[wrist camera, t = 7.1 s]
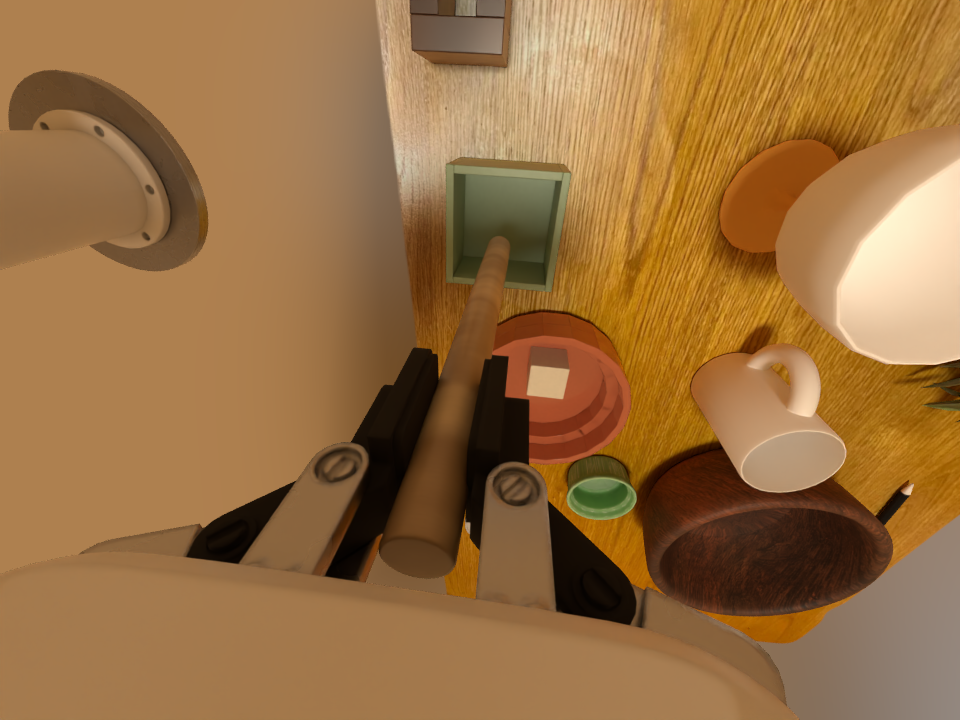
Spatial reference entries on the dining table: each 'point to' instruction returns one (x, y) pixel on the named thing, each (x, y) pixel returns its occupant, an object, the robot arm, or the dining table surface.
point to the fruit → (948, 405)
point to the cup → (862, 238)
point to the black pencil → (895, 504)
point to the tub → (505, 218)
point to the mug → (769, 418)
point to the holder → (461, 32)
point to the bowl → (567, 386)
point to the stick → (446, 438)
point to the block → (547, 372)
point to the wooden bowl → (757, 541)
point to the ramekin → (600, 488)
